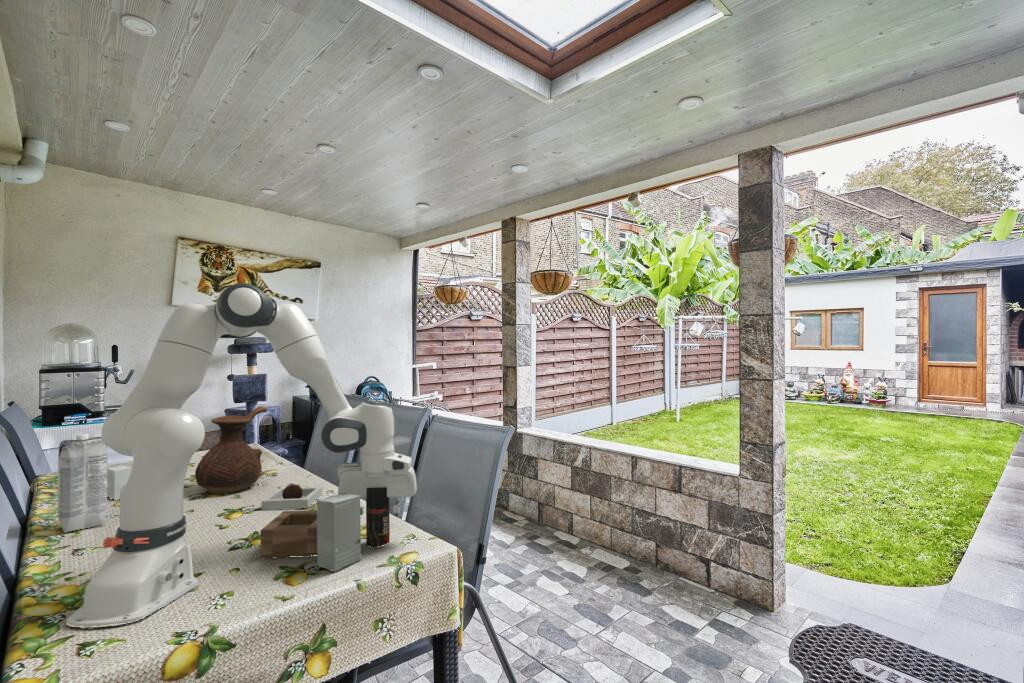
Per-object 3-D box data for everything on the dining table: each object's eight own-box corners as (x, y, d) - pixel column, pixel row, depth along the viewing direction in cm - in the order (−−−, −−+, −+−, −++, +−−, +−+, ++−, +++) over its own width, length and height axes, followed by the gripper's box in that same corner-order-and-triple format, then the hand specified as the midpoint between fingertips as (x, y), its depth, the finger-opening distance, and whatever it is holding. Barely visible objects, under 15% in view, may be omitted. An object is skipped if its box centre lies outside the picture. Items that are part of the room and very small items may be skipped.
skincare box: (334, 573, 109) (333, 504, 110) (314, 566, 113) (314, 499, 114) (363, 559, 117) (363, 494, 117) (343, 553, 120) (343, 490, 121)
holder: (318, 556, 119) (318, 528, 119) (260, 558, 118) (260, 530, 118) (335, 534, 133) (335, 509, 133) (283, 536, 132) (283, 511, 132)
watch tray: (307, 508, 155) (307, 499, 155) (261, 510, 154) (261, 501, 154) (322, 495, 170) (322, 486, 170) (280, 496, 169) (280, 488, 169)
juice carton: (108, 525, 142) (108, 434, 143) (59, 535, 134) (60, 439, 135) (103, 518, 148) (104, 431, 149) (57, 528, 140) (57, 435, 141)
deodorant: (383, 548, 123) (382, 489, 123) (362, 546, 124) (361, 488, 125) (393, 539, 129) (393, 483, 129) (373, 538, 130) (372, 482, 130)
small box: (133, 497, 171) (133, 467, 171) (114, 501, 166) (114, 470, 166) (124, 493, 175) (124, 464, 175) (105, 497, 170) (105, 468, 170)
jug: (242, 498, 168) (242, 412, 168) (181, 498, 168) (181, 413, 169) (273, 481, 190) (273, 405, 190) (219, 481, 190) (219, 405, 190)
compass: (300, 499, 166) (300, 478, 166) (302, 505, 159) (302, 483, 159) (274, 502, 162) (274, 481, 162) (276, 509, 155) (275, 487, 155)
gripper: (334, 466, 124) (334, 519, 123) (414, 463, 125) (415, 516, 125) (340, 460, 130) (341, 511, 130) (417, 457, 131) (417, 508, 131)
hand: (378, 513), depth 127 cm, fingers open, 8 cm apart
